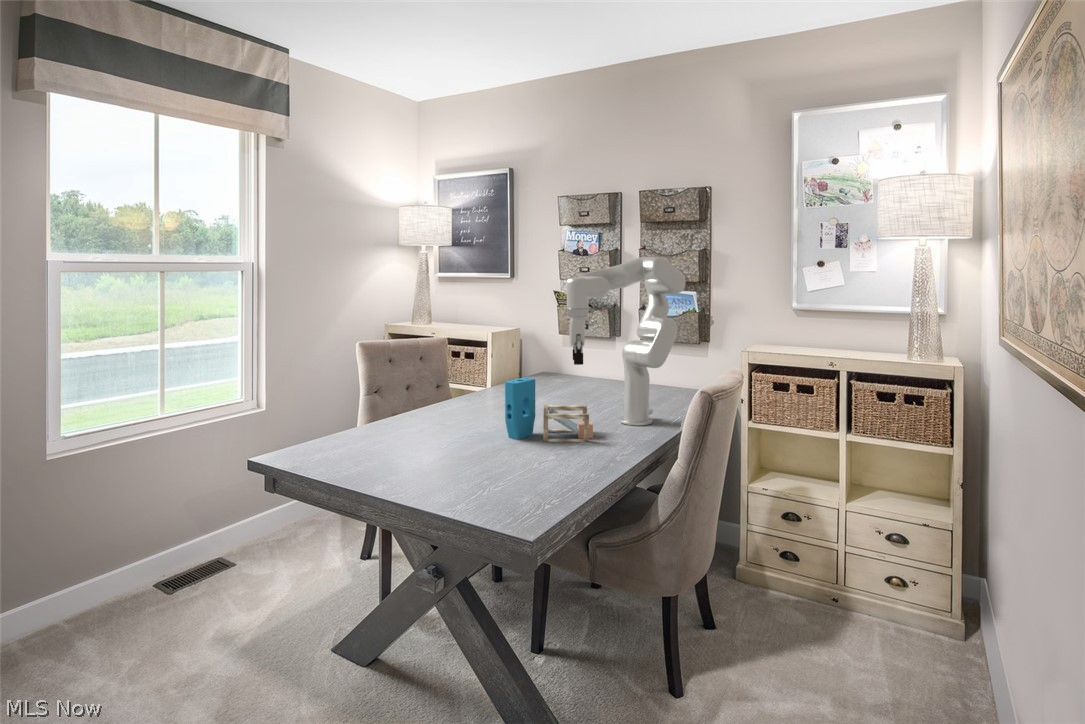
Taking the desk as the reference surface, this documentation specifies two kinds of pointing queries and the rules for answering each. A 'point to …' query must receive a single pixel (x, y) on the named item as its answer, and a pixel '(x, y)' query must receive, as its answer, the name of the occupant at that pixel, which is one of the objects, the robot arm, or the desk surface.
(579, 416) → the frame
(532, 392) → the block
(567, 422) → the trapdoor plate
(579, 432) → the terracotta block
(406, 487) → the desk surface
